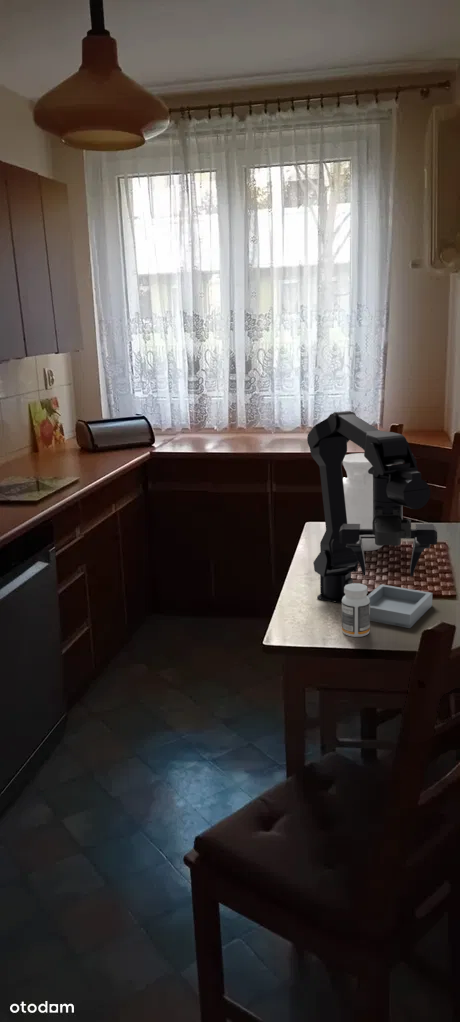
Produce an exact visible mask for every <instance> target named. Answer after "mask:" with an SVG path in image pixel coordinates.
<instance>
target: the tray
mask: <svg viewBox="0 0 460 1022" xmlns="http://www.w3.org/2000/svg"><path fill="white" fill-rule="evenodd" d="M367 594H368V595H366V596H368V598H369V599H370V622H375V623H379V624H385V625H390V626H397V627H401V628H405V629H406V628H407V629H411V628H412V627H413V626H414V625H415V624H416V623H417V622H418V621H419V620H420V619H421V617H423V616H424V615H425V614H426V612H427V611H428V610H430V609H431V607H432V606H433V592H429V591H422V590H417V589H411V588H406V587H399V586H393V585H387V584H379V585H378V586H377V587H376V588H374V589H373V590H372V591H371V592H369V593H367Z"/></svg>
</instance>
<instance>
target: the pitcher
mask: <svg viewBox="0 0 460 1022" xmlns="http://www.w3.org/2000/svg"><path fill="white" fill-rule="evenodd" d="M342 466H343V468H344V470H345V472H346V476H347V477H344V476H343V486H344V496H345V505H346V515H347V524H360V529H373V527H372V522H373V475H372V474H369V473H368V470H369V469H370V468H371V467H372V465H371V463H370V462H369V461H368V460H367V459H366V458H365V457H364V452H359V453H358V452H357V453H349V454H346V455H345V457H344V459H343V462H342ZM387 466H389V465H387ZM362 543H363V551H364V552H368V551H370V552H371V551H377V550H380V549H381V548H382V547H383V546H378V545H376V544H375V538H362Z"/></svg>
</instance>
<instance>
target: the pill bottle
mask: <svg viewBox="0 0 460 1022" xmlns="http://www.w3.org/2000/svg"><path fill="white" fill-rule="evenodd" d="M368 589H369V588H368V586H367V585H366V584H364V583H357V582H356V583H355V582H353V583H352V584H347V585H345V587H344V593H345V596H344V597H343V598H342V603H341V631H342V633H343V634H344V635H346V636H348V637H352V638H360V637H364V636H367V635H368V634H369V633H370V632H371V621H370V599H369V598H368V596H367V594H369V592H368Z"/></svg>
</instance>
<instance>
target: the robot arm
mask: <svg viewBox="0 0 460 1022" xmlns="http://www.w3.org/2000/svg"><path fill="white" fill-rule="evenodd" d="M350 441H351V442H352V443H353V444H356V445H357V446H358V447H359V448H361V449H362V450H363V453H364V457H365V458H366V459H367V460H368V461H369V462H370V463H371V465H372V467H371V468H370V469H369V470H368V473H369V474H372V475H373V522H372V527H373V529H360V524H347V515H346V505H345V496H344V486H343V478H344V476H343V469H342V466H343V459H344V457H345V455H347V452H348V442H350ZM306 442H307V445H308V447H309V452H310V455H311V457H312V458H313V460H314V461H315V462H316V464H317V465H318V467H319V476H320V484H321V494H322V505H323V513H324V514H323V515H324V523H325V531H324V534H323V536H322V539H321V541H320V546H319V547H320V549H319V550H320V551H319V553H318V555H317V556H316V558H315V559H314V560H313V569H314V570H313V571H314V572H315V573H317V574H318V575H320V577H319V579H320V581H319V583H320V584H319V585H320V586H319V587H320V588H319V589H320V590H319V591H320V592H319V594H318V595H317V596H316V599H317V600H323V601H327V602H333V603H339V604H342V598H343V597H344V596H345V593H344V587H345V585H347V584H352V583H354V582H353V581H354V579H353V578H352V573H356V572H357V571H358V566H359V567H360V570H361V572H362V576H363V577H365V576H366V561H365V560H366V559H365V551H363V543H362V538H375V544H376V545H378V546H382V547H383V546H393V547H397V546H400V545H401V544H402V543H401V542H402V541H401V540H402V539H409V540H411V539H412V540H413V543H412V549H411V550H412V552H411V558H410V566H409V573H410V574H409V575H410V577H413V576H414V573H415V570H416V567H417V564H418V561H419V559H420V557H421V555H422V554H423V552H424V550H425V549H430V548H431V545H432V546H434V545H438V529H437V526H436V525H435V524H434V523H415V528H412V519H411V518H403V517H404V515H403V513H404V512H403V511H404V509H403V508H404V507H406V508H409V509H411V510H420V509H422V508H424V507H425V506H426V505H427V503H428V502H429V500H430V497H431V489H430V486H429V483H427V481H425V480H424V479H422V473H421V472H420V471H418V470H419V468H418V465H417V463H418V461H417V459H416V457H415V456H414V454H413V451H412V448H411V447H410V443H409V442H408V440H407V438H406V437H405V436H404V435H403V434H401V433H397V432H393V431H385V430H384V431H383V430H380V429H378V428H377V427H375V426H373V425H372V424H370V423H369V422H367V421H365V420H363V419H362V418H360V417H359V416H357V415H356V413H355V412H354V411H351V410H343V411H335V412H333V413H330V414H329V415H328V417H327V418H325V419H323V420H322V421H320V422H318V423H317V424H315V425H314V426H313V427H312V428H311V429H310V431H309V432H308V433H307V441H306ZM387 465H389V466H387Z"/></svg>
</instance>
